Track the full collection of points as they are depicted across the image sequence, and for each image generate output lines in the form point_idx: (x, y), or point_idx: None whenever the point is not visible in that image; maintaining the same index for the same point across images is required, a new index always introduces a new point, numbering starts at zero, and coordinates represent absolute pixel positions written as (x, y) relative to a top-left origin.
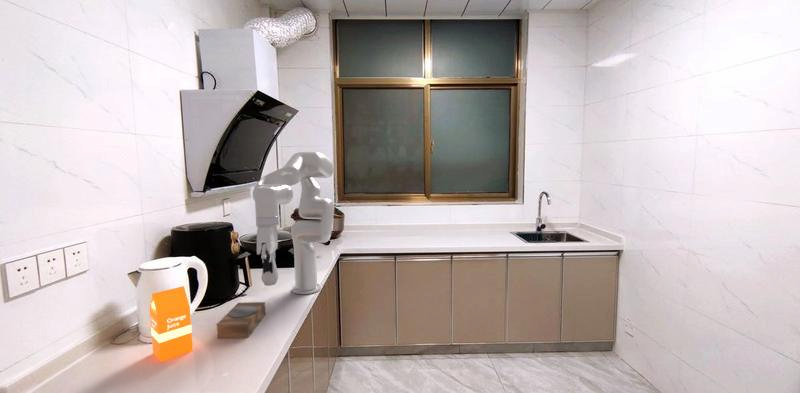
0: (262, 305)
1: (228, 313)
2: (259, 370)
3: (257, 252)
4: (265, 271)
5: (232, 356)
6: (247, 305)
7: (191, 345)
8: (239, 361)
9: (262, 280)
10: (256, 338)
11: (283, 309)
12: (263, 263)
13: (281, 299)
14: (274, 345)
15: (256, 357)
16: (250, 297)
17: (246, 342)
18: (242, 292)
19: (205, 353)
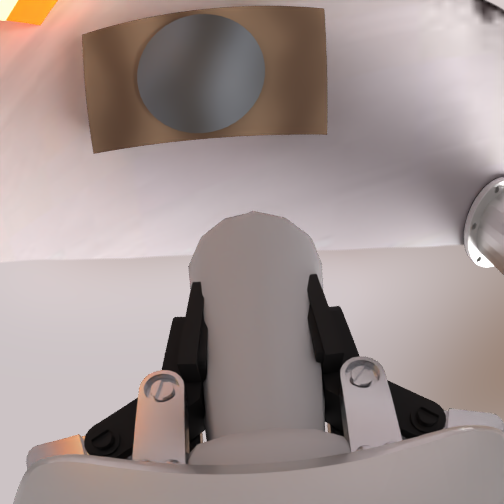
0: (288, 134)
1: (187, 15)
2: (4, 249)
3: (20, 486)
4: (176, 317)
5: (24, 157)
6: (286, 62)
7: (29, 22)
8: (13, 188)
9: (211, 229)
10: (115, 171)
11: (357, 183)
12: (179, 360)
13: (446, 152)
14: (89, 243)
15: (34, 221)
16: (469, 35)
17: (89, 152)
18: (500, 8)
19: (28, 71)
